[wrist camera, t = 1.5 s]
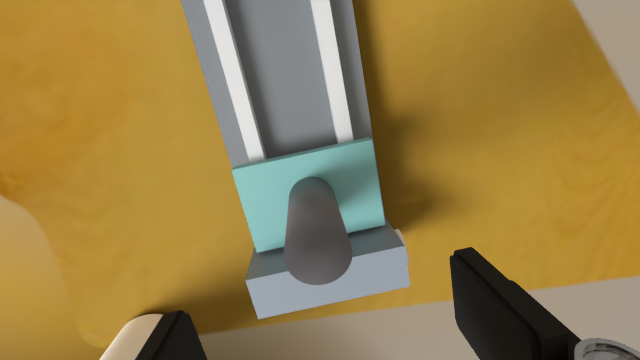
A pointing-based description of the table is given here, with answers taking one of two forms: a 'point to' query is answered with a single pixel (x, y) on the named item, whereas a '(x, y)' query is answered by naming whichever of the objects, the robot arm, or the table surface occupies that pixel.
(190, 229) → the table surface
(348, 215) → the carriage
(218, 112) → the rail track
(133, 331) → the can
